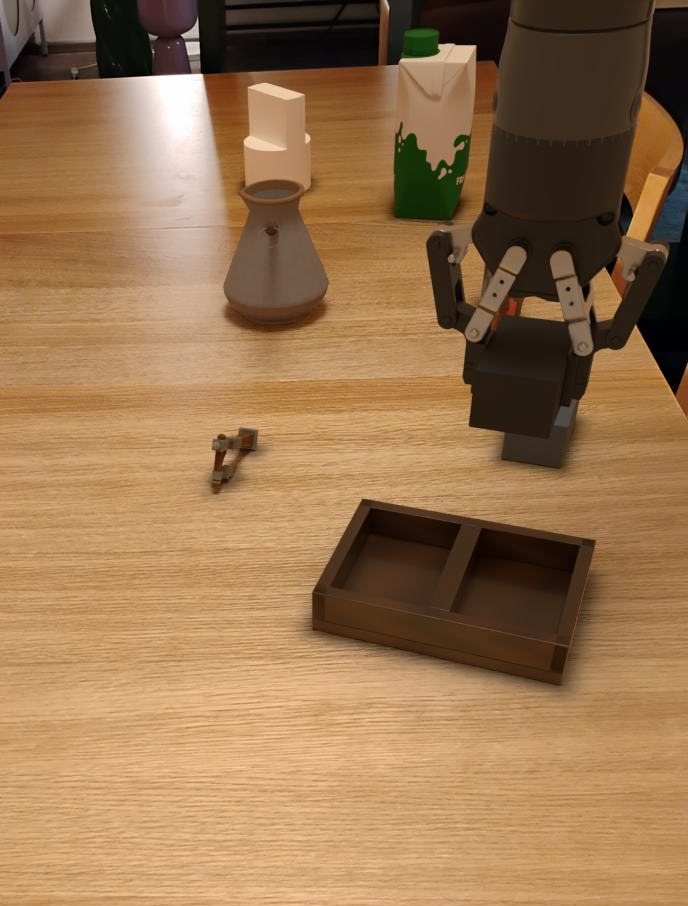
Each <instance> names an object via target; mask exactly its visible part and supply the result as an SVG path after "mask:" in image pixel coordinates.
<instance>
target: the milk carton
mask: <svg viewBox="0 0 688 906" xmlns="http://www.w3.org/2000/svg"><path fill="white" fill-rule="evenodd" d="M439 39H440V31H439V30H437V29H433V28H414V29H410V30H407V31H405V32H404V33H403V47H402V49H403V50H402V52H401V56H400V59H399V61H398V71H397V91H396V108H395V110H396V111H395V130H394V131H395V132H394V151H393V153H394V154H393V155H394V156H393V199H394V201H393V203H394V218H402V219H421V220H422V219H423V220H425V219H426V220H441V221H445V220H447V221H451V220H452V218H453V215H454V213H455V211H456V210H457V209H456V208H457V206H458V204H459V201H460V199H461V195H462V192H463V188H464V184H465V180H466V176H467V173H468V168H469V163H470V162H469V161H470V153H471V152H470V150H471V140H472V132H473V131H472V129H473V121H474V109H475V99H476V85H477V84H476V81H477V80H476V78H477V76H476V75H477V72H476V71H477V45H474V44H473V45H471V44H468V45H464V44H463V45H461V44H459V45H456V44H455V43H444V44H443V43H439Z"/></svg>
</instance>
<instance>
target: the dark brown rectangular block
mask: <svg viewBox="0 0 688 906" xmlns="http://www.w3.org/2000/svg"><path fill="white" fill-rule="evenodd" d="M571 346H572V344H571V340H570V335H569V330H568V326H567V323H565V321H564V320H554V319H547V318H539V317H529V316H523V315H520V316H513V315H505V314H504V315H503V316H502V318H501V320H500V322H499V324H498V326H497V328H496V330H495V332H494V335H493V337H492V339H491V341H490V343H489V345H488V347H487V349H486V350H485V352H484V354H483V356H482V358H481V360H480V362H479V364H478V366H477V367H476V369H475V375H474V383H473V392H472V394H471V401H470V409H469V418H468V427H469V428H474V429H480V430H481V429H482V430H488V431H493V432H500V433H504V434H505V433H512V434H518V435H524V436H531V437H537V438H544V439H549V437H550V434H551V432H552V429H553V426H554V423H555V421H556V418H557V415H558V413H559V410H560V407H561V406H559V404H560V399H561V393H562V388H563V382H564V377H565V371H566V365H567V357H568V353H569V351H570V348H571Z"/></svg>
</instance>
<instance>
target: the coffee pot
mask: <svg viewBox="0 0 688 906" xmlns="http://www.w3.org/2000/svg"><path fill="white" fill-rule="evenodd" d="M305 192H306V191H305V189H304V187H303V185H302V184H300V183H298V182H296V181H291V180H284V179H272V180H264V181H259V182H255V183H252V184H250V185H248V186H246V185H245V187H243V188H242V189H240V191H239V192H238V196H239V197H240V198H241V199H242V201H243V202H244V204H245V206H246V207H247V209H248V215H247V217H246V221H245V223H244V226H243V229H242V232H241V234H240V236H239V240H238V242H237V246H236V248H235V251H234V253H233V257H232V259H231V262H230V265H229V268H228V271H227V274H226V276H225V279H224V281H223V286H222V287H223V292H224V296H225V298H226V300H227V302H228V303H229V304H230V305H231V307H233V309H235V310H236V311H237V312H238V313H240V314H241V315H243V316H244V318H245V319H247V320H249V321H251V322H253V323H256V324H261V325H273V326H276V325H286V324H290V323H295V322H297V321H301V320H302V319H304V318H305V317H307V316H308V315H309V314H310V313H311V312H312V310H314V309H315V308H316V307H317V306H318V305H319V304H320V303H321V302H322V300H323V299H324V298H325V296H326V294H327V292H328V289H329V284H330V281H329V277H328V274H327V272H326V270H325V267H324V266H323V262H322V260H321V257H320V256H319V253H318V252H317V249H316V247H315V244H314V242H313V239H312V237H311V235H310V232H309V230H308V228H307V225H306V223H305V221H304V219H303V216H302V214H301V211H300V209H299V206H300V203H301V202H300V201H301V198H302V197H303V196H304V194H305Z"/></svg>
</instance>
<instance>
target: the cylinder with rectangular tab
mask: <svg viewBox="0 0 688 906" xmlns="http://www.w3.org/2000/svg"><path fill="white" fill-rule="evenodd" d="M247 105H248V106H247V108H248V109H247V110H248V127H249V128H248V130H249V134H248V136H247V137H246V138H244V139H243V154H244V155H243V157H244V158H243V159H244V177H245V178H244V179H245V187H246V186H248V185H250V184H252V183H255V182H259V181H264V180H272V179H284V180H291V181H296V182H298V183H300V184H302V185H303V187H304V189H305V192H306V191H307V190H309V189H310V188H311V184H312V182H311V180H312V178H311V174H312V173H311V172H312V171H311V170H312V169H311V136H310V135H309V134H308V133H307V132H306V95H305V94H304V93H301V92H298V91H295V90H292V89H288V88H284V87H281V86H278V85H274V84H271V83H268V82H261V83H257V84H253V85H250V86H247Z"/></svg>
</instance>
